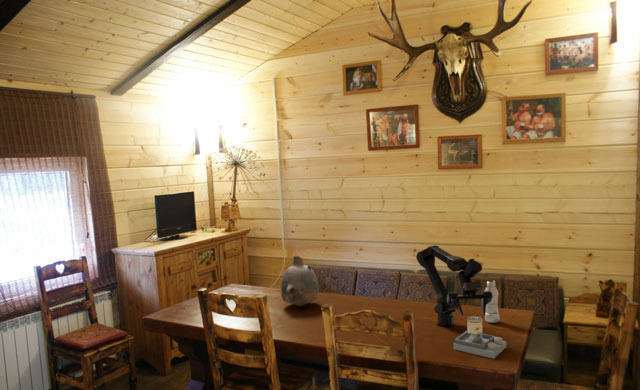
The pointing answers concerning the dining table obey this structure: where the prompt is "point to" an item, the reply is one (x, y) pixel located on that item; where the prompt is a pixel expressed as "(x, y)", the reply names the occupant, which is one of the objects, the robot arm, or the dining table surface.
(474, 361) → the dining table surface
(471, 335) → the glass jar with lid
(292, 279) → the jug
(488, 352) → the square tray with knobs
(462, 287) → the robot arm
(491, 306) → the plastic bottle
